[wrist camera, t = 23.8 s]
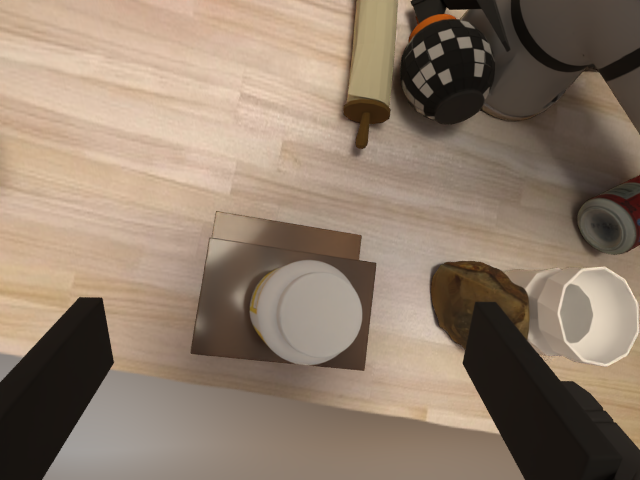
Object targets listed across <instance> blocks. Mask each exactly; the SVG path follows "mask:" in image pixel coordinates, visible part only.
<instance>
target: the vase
mask: <svg viewBox="0 0 640 480" xmlns="http://www.w3.org/2000/svg"><path fill="white" fill-rule="evenodd" d="M504 273H505V274H506V275H507V276H508V277H509V279H510V280H511V281H512V282H513V283H514V284H516V285H518V286H521V287H523V288H524V289H525V290H526V292H527V294H528V297H529V314H530V322H529V333H528V340H527V341H528V342H529V343H530V344H531V346H532V347H533V348H534V349H535V350H536V352H537V353H540V354H543V355H547V356H564V357H566V358H568V359H570V360H572V361H574V362H579V363H584V364H590V365H598V366H605V367H607V366H609V365H611V364H613V363H615V362H616V361H618V360H620V359H622V358H624V357H625V356H627V355H628V354H629V352H630V350H631V348H632V346H633V344H634V342H635V340H636V338H637V336H638V334H639V305H638V302H637V300H636V298H635V297H634V295H633V293H632V291H631V289H630V287H629V285H628V283H627V281H626V280H625V279H624V278H622V277H620V276H619V275H617V274H616V273H614V272H612V271H611V270H609V269H608V268H606V267H594V268H575V267H567V268H565V269H564V270H562V269H560V268H552V269H546V270H521V269H516V270H510V271H506V272H504Z"/></svg>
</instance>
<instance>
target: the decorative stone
mask: <svg viewBox="0 0 640 480" xmlns="http://www.w3.org/2000/svg"><path fill="white" fill-rule="evenodd" d="M431 285H432V287H431V295H432V303H433V307H434V309H435V313H436V316H437V317H438V321H439V326H440V327H441V328H443V329H445V330H446V331H447V332H448V334H449V336H450V337H451V339H452V340H453V341H454V342H456V343H458V344H460V345H461V346H462V347H463V348H464V349H466V345H467V340H468V335H469V330H470V325H471V320H472V315H473V310H474V305H475V302H496V303H497V304H498V305H499V306H500V308H501V309H502V310H503V311H504V312H505V314H506V315H507V316H508V317H509V319H510V320H511V321H512V322H513V323H514V325H515V326H516V327H517V328H518V330H519V331H520V332H521V333H522V335H523V336H524V337H525V338H526V339H527V340H528V333H529V322H530V314H529V297H528V294H527V292H526V290H525V289H524V288H523V287H521V286H518V285H516V284H514V283H513V282H512V281H511V280H510V279H509V277H508V276H507V275H506V274H505V273H504V272H502V271H501V270H499V269H497V268H493V267H491V266H490V265H487V264H485V263H482V262H475V261H458V262H446V263H444V264H442V265H440V267H439V268H438V270H437V271H436V273H435V274H434V276H433V278H432V284H431Z"/></svg>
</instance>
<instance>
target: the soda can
mask: <svg viewBox="0 0 640 480" xmlns="http://www.w3.org/2000/svg"><path fill="white" fill-rule="evenodd" d="M577 219H578V226H579V229H580V232H581V234H582V235H583V237H584V239H585V240H586V241H587V242H588V243H589V244H590V245H591V246H593V247H594V248H596V249H597V250H599V251H601V252H604V253H607V254H613V255H615V254H622V253H625V252H628V251H630V250H631V249H633V248H635V247H637V246H639V245H640V175H639V176H637V177H635V178H633V179H631V180H629V181H627V182H624V183H623V184H620V185H618V186H616V187H614V188H612V189H610V190H608V191H606V192H604V193H602V194H600V195H598V196H596V197H594V198H591V199H589V200H588V201H586V202H585V203H584V204H583V205H582V207H581V208H580V210H579V212H578V218H577Z"/></svg>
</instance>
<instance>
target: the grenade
mask: <svg viewBox="0 0 640 480" xmlns="http://www.w3.org/2000/svg"><path fill="white" fill-rule="evenodd" d="M411 4H412V6H413V7H414V10H415V13H416V20H417V24H418V25H417V26H416V27H415V29H414V30H413V31H412V33H411V35H410V37H409V44H408V45H407V47H406V48H405V51H404V53H403V55H402V59H401V75H400V77H401V85H402V89H403V91H404V93H405V96H406V98H407V100H408V102H409V103H410V105H411V106H412V107H413V108H414V109H415V110H416V111H417V112H418V113H420V114H421V115H423V116H425V117H427V118H429V119H431V120H436V121H437V122H439V123H441V124H455V123H459V122H462V121H464V120H466V119H468V118H470V117H472V116H473V115H475V114H476V113H477V112H478V111H479V110H480V109H481V108H482V106H483V104H484V101H485V99H486V98H487V96H488V94H489V92H490V90H491V87H492V85H493V82H494V75H495V58H494V54H493V51H492V48H491V46H490V44H489V42H488V41H487V39H486V37H485V36H484V34H483V33H482V32H481V31H480V30H478V29H477V28H476V27H475V26H474V25H472V24H471V23H470V22H467V21H463V20H458V19H456V18H455V17H453V16H452V15H449V14H444V13H445V10H446V7H447V8H448V9H449V10H460V9H482V10H483V12H484V14H485V15H486V17H487V19H488V20H489V22H490V24H491V26H492V27H493V29H494V31H495V32H496V34H497V36H498V38H499V39H500V41H501V43H502V44H503V46H504V48H505V50H506V51H507V52H508V51H510V50H511V49H510V46H509V43H508V39H507V36H506V33H505V30H504V26H503V23H502V20H501V17H500V14H499V10H498V7H497V4H496V1H495V0H412V1H411Z"/></svg>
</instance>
